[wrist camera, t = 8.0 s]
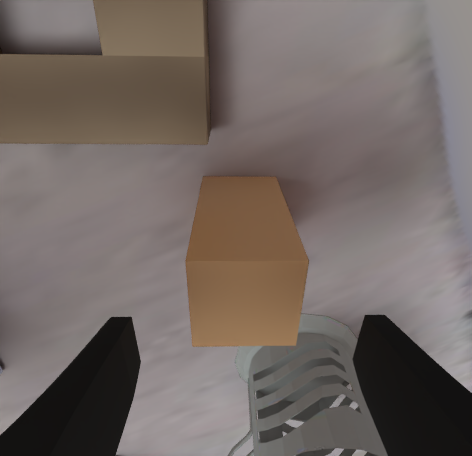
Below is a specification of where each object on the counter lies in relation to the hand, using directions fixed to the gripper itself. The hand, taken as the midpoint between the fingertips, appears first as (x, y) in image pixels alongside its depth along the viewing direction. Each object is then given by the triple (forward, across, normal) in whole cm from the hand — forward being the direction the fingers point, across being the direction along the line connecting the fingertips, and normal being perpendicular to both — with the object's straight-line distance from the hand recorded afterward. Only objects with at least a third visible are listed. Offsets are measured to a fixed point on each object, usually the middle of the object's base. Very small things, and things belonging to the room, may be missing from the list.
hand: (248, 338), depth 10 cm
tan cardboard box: (+9, 0, 0) cm, 9 cm away
